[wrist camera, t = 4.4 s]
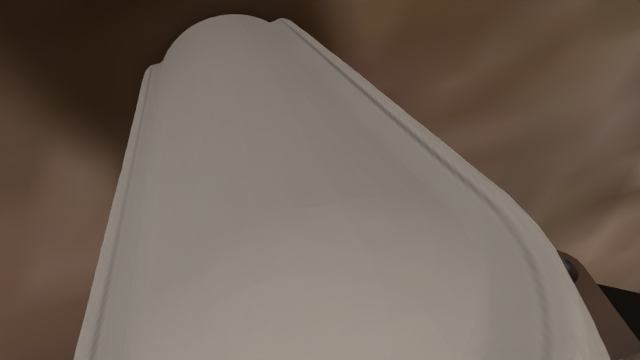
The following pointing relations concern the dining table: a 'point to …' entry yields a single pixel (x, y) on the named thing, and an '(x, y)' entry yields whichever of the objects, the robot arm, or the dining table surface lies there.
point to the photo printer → (311, 223)
